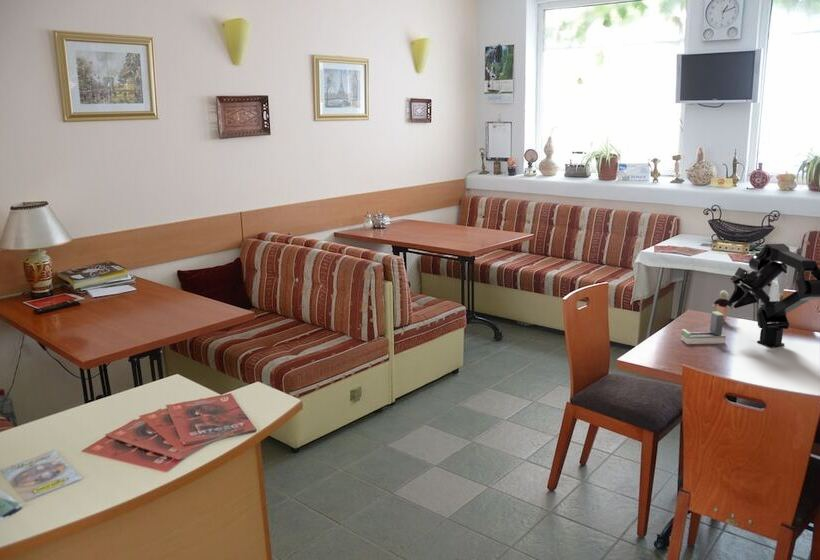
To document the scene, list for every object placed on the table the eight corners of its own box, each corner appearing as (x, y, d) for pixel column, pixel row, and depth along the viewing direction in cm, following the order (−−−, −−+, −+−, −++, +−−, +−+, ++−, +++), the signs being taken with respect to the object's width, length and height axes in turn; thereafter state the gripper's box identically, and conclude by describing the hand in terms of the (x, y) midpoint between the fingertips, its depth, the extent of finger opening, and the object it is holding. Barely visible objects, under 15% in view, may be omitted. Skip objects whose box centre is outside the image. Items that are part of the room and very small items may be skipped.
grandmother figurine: (710, 321, 276) (714, 290, 273) (710, 318, 280) (713, 288, 277) (731, 323, 274) (735, 292, 271) (731, 320, 277) (735, 290, 274)
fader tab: (716, 333, 254) (719, 311, 252) (722, 336, 250) (724, 314, 248) (708, 333, 254) (711, 311, 252) (714, 336, 250) (716, 314, 248)
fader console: (718, 338, 255) (719, 328, 254) (724, 343, 250) (725, 332, 250) (680, 339, 255) (681, 329, 254) (686, 343, 250) (687, 333, 249)
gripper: (738, 254, 255) (705, 283, 258) (766, 267, 238) (730, 298, 240) (756, 274, 258) (723, 303, 261) (785, 289, 240) (749, 319, 243)
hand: (731, 305), depth 251 cm, fingers open, 4 cm apart
